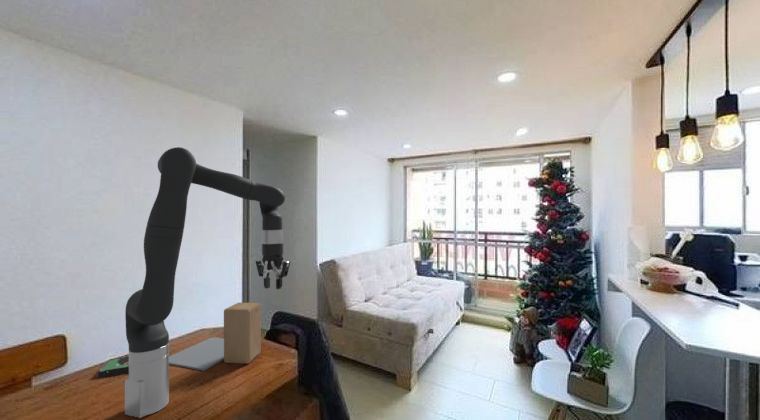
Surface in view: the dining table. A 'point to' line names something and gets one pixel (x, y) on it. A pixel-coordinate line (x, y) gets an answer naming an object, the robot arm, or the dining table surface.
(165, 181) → the robot arm
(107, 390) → the dining table surface
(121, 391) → the dining table surface
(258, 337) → the wooden block
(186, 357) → the mat
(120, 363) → the disk drive
